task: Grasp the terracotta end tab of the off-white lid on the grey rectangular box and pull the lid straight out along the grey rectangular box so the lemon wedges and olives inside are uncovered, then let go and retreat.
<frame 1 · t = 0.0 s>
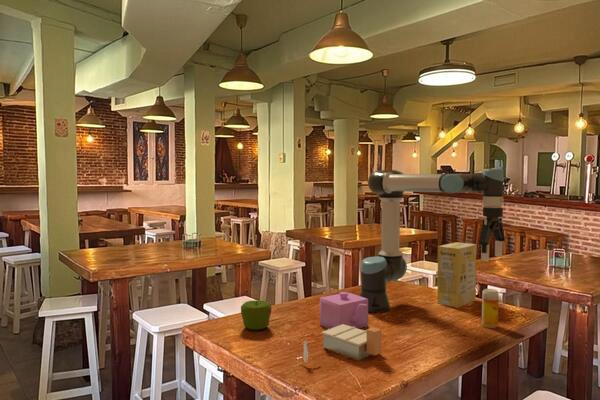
hand: (491, 258, 181), 28 cm above the table, fingers open, 13 cm apart
lid: (354, 334, 157), point 6 cm above the table, slide at 0.0 cm
purple knobbed cube: (345, 327, 183), on the table
pasta box: (456, 302, 218), on the table
beer can: (489, 326, 183), on the table
grey rectangular box: (350, 350, 158), on the table
stand: (309, 365, 146), on the table
apple: (256, 328, 182), on the table
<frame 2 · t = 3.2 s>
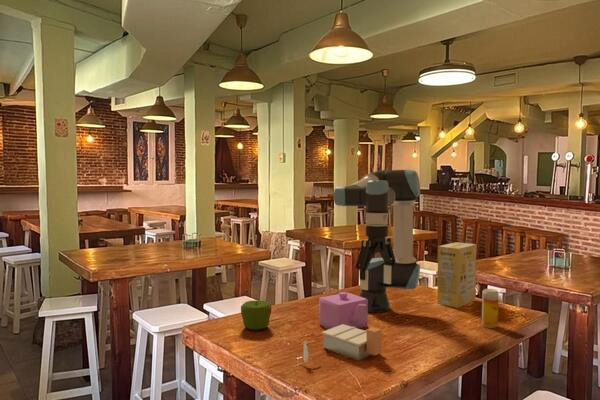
hand: (376, 286, 153), 24 cm above the table, fingers open, 13 cm apart
nothing on the table moved.
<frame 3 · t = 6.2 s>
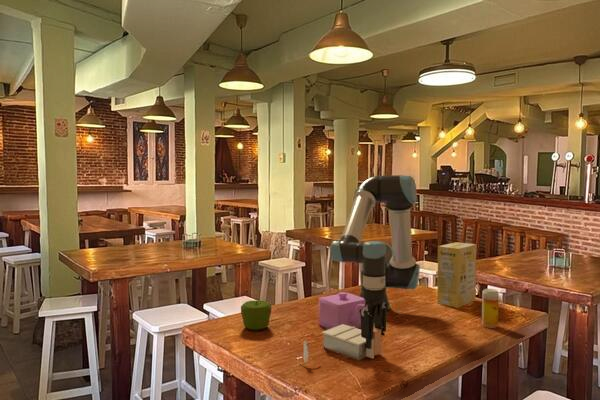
hand: (373, 355, 151), 1 cm above the table, fingers closed on lid, 3 cm apart
lid: (354, 334, 157), point 6 cm above the table, slide at 0.0 cm, touching gripper
everything else where it was.
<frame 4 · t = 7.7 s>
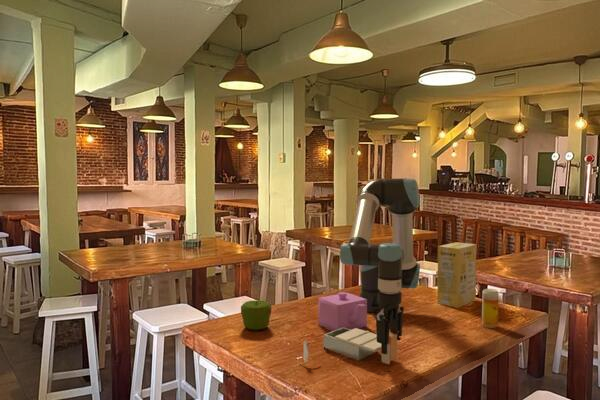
hand: (389, 360, 147), 1 cm above the table, fingers closed on lid, 3 cm apart
lid: (368, 339, 152), point 6 cm above the table, slide at 6.3 cm, touching gripper
everything else where it was.
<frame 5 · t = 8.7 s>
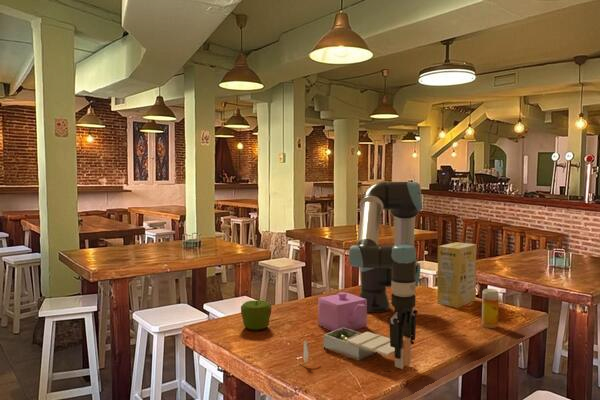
hand: (402, 365, 143), 1 cm above the table, fingers closed on lid, 3 cm apart
lid: (381, 343, 149), point 6 cm above the table, slide at 11.4 cm, touching gripper
everything else where it was.
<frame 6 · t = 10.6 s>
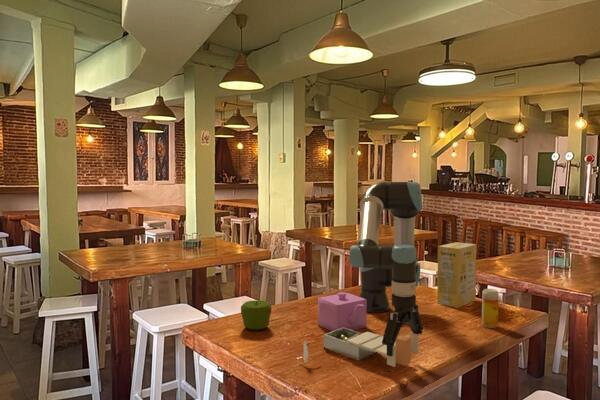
hand: (403, 358, 143), 3 cm above the table, fingers open, 13 cm apart
lid: (381, 343, 149), point 6 cm above the table, slide at 11.5 cm
everything else where it was.
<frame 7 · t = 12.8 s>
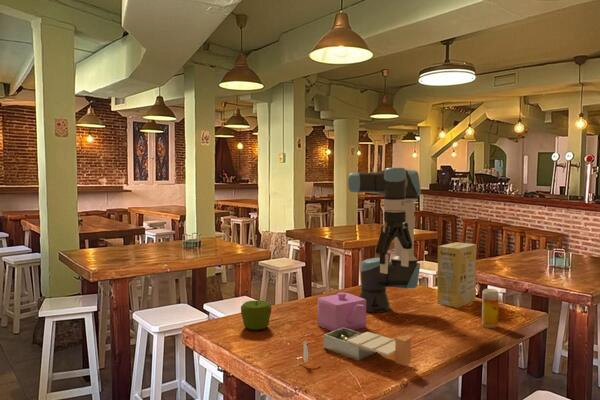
hand: (394, 269, 160), 28 cm above the table, fingers open, 13 cm apart
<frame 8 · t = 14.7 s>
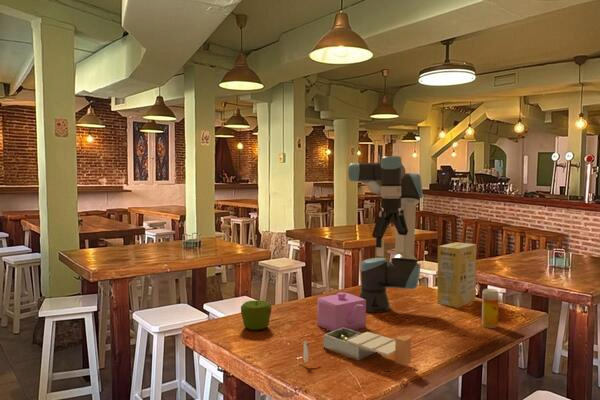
hand: (390, 253, 167), 33 cm above the table, fingers open, 13 cm apart
at the end: lid slide at 11.5 cm; the gripper is holding nothing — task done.
